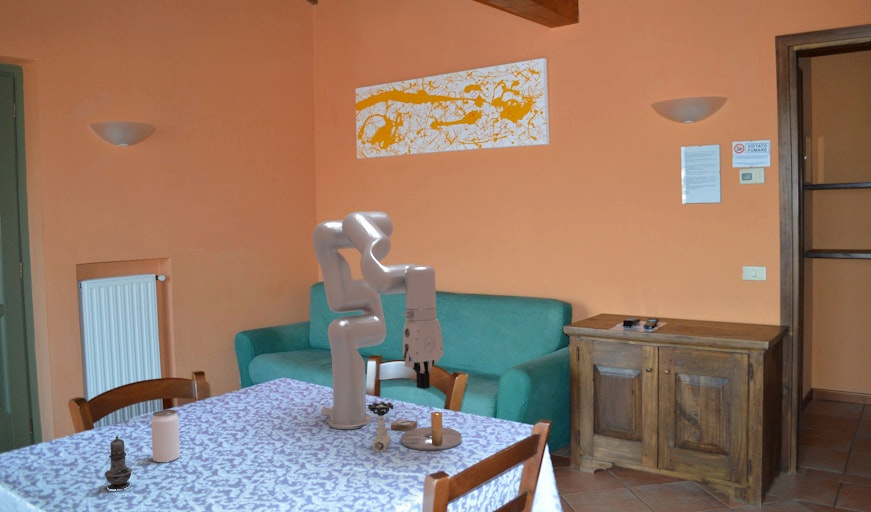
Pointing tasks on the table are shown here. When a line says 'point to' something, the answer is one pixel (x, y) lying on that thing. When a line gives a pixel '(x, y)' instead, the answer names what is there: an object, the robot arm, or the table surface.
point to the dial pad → (403, 425)
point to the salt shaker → (118, 466)
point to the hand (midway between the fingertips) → (423, 387)
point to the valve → (381, 426)
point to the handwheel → (431, 436)
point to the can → (165, 436)
